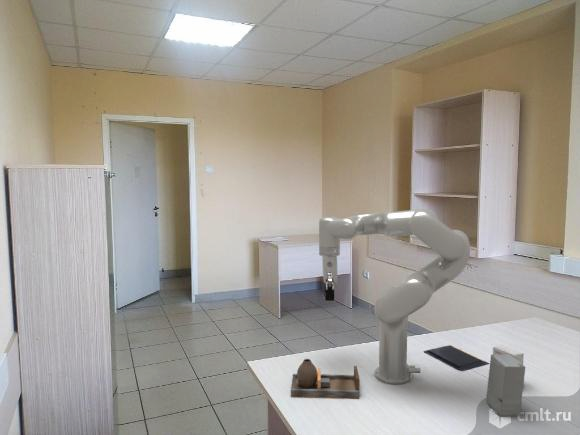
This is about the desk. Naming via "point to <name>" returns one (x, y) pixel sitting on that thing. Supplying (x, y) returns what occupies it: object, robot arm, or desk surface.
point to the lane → (338, 387)
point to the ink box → (508, 352)
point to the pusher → (322, 380)
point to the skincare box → (505, 384)
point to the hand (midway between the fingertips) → (329, 296)
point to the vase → (307, 374)
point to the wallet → (456, 358)
